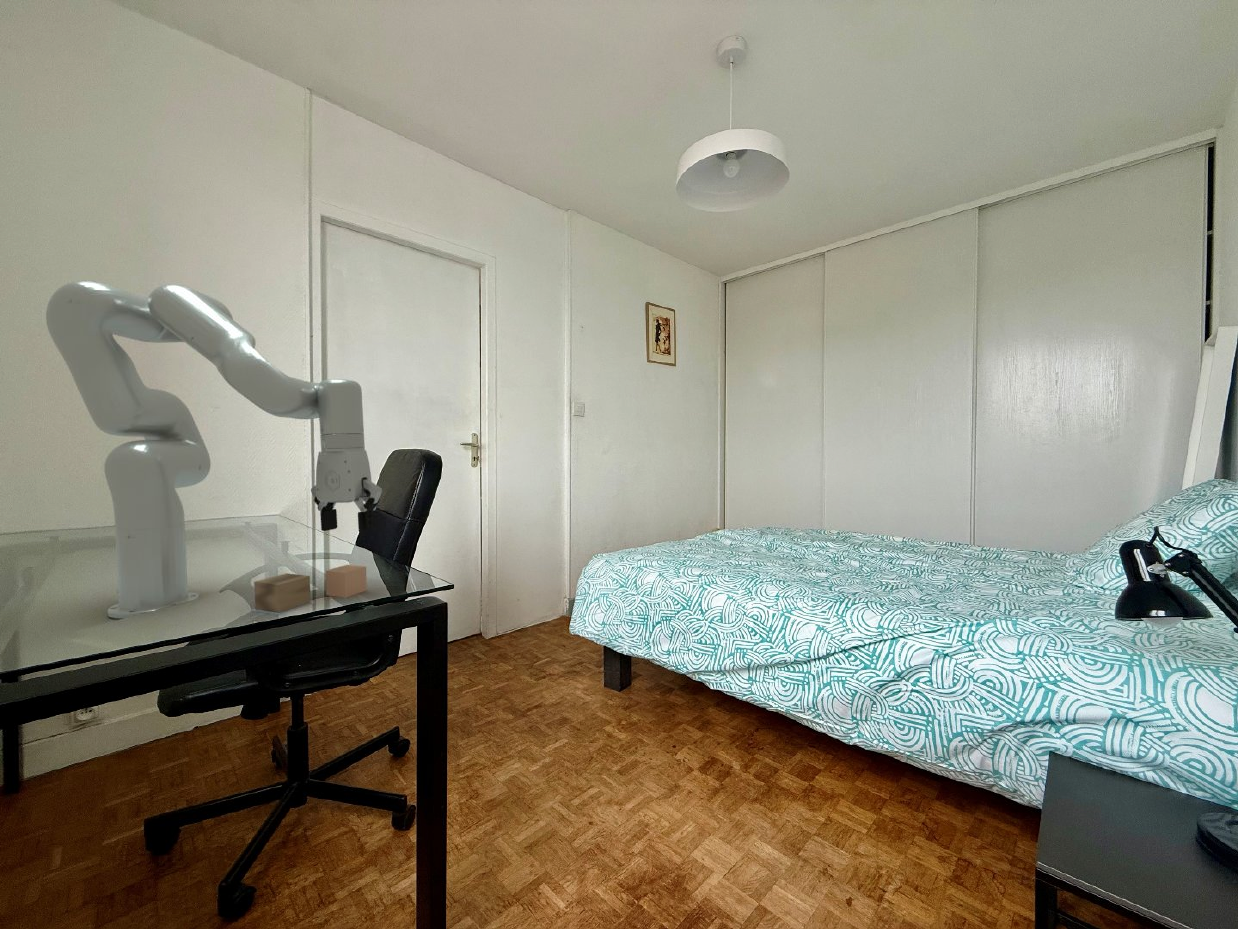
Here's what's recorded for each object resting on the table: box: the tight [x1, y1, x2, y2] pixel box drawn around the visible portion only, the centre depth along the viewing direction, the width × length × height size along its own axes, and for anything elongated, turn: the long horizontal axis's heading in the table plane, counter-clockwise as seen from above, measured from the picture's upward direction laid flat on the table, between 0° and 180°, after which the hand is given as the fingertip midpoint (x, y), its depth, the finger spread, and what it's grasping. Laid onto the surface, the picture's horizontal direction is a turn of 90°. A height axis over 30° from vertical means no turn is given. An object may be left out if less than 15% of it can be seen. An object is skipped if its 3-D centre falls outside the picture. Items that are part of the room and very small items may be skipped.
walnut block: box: [253, 573, 312, 613], centre depth 91 cm, size 6×6×5 cm
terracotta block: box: [325, 564, 368, 599], centre depth 99 cm, size 5×5×6 cm
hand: (347, 530), depth 99 cm, fingers open, 9 cm apart
